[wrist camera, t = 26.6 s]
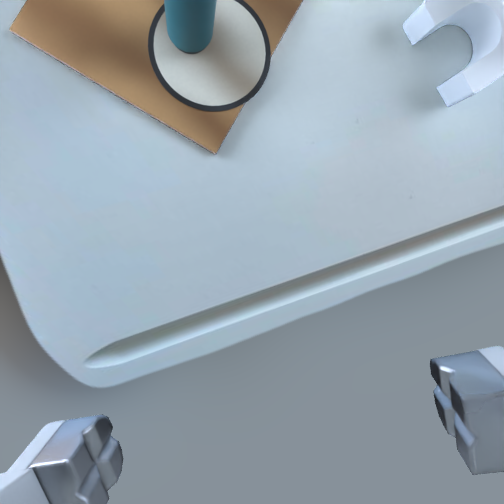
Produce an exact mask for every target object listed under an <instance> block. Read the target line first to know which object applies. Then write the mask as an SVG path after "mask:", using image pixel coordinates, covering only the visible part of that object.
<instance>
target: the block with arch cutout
mask: <svg viewBox="0 0 504 504" xmlns="http://www.w3.org/2000/svg"><path fill="white" fill-rule="evenodd" d="M450 24H451V25H457V26H459V27H461V28H462V29H463V30H465V31H466V32H467V34H468V35H469V37H470V39H471V42H472V46H473V55H472V58H471V61H470V62H469V64H468V66H466V67H465V68H464V69H463V70H462V71H460V72H459V73H457V74H456V75H454V76H453V77H451V78H450V79H448V80H447V81H445V82H444V83H442V84H441V85H439V86H438V87H436V88H437V90H438V92H439V93H440V95H441V97H442V99H443V100H444V102H445V104H446V106H448V107H451V106H452V105H454V104H456V103H458V102H460V101H462V100H464V99H466V98H468V97H470V96H472V95H474V94H476V93H478V92H479V91H481V90H482V89H484V88H485V87H487V86H488V85H489V84H491V83H492V82H494V81H495V80H497V79H498V78H500V77H501V76H503V75H504V0H425V1H424V2H423V3H422V4H421V5H420V6H419V7H418V8H417V10H416V11H415V12H414V13H413V14H412V15H411V16H410V17H409V18H408V19H407V20H406V21H405V22H404V23H403V29H404V31H405V33H406V35H407V37H408V39H409V40H410V42H411V44H412V46H413V45H414V44H416V43H417V42H419V41H420V40H422V39H423V38H425V37H426V36H428V35H429V34H431V33H433V32H434V31H436V30H437V29H439V28H440V27H442V26H445V25H450Z"/></svg>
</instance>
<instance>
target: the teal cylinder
mask: <svg viewBox="0 0 504 504" xmlns="http://www.w3.org/2000/svg"><path fill="white" fill-rule="evenodd" d="M216 2H217V0H164V5H165V15H166V25H167V32H168V36H169V38H170V40H171V41H172V43H173V44H174V45H175V46H176V47H177V48H178V49H179V50H180V51H182V52H184V53H187V54H197V53H199V52H201V51H202V50H204V49H205V47H207V46H208V44H209V43H210V41H211V39H212V35H213V28H214V19H215V11H216Z"/></svg>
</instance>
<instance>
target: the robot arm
mask: <svg viewBox="0 0 504 504" xmlns="http://www.w3.org/2000/svg"><path fill="white" fill-rule="evenodd" d="M430 368H431V375H432V377H433V378H434V380H435V381H436V383H437V386H436V388H435V389H434V398H435V404H436V407H437V410H438V414H439V417H440V419H441V421H442V423H443V426H444V427H445V429H446V431H447V433H448V434H450V435H452V436H453V437H455V438H456V444H457V450H458V452H459V453H460V455H461V457H462V458H463V460H464V461H465V463H466V465H467V467H468V468H469V470H470V472H471V473H472V475H477V474H487V473H496V472H504V348H503V347H501V346H494V347H488V348H484V349H479V350H475V351H472V352H466V353H461V354H455V355H450V356H444V357H439V358H433V359H431V361H430ZM112 428H113V426H112V424H111V422H110V420H109V418H108V417H107V416H105V415H103V414H102V415H95V416H89V417H82V418H75V419H69V420H63V421H57V422H52V423H49V424H47V425H45V426H44V427H43V428H42V430H41V431H40V432H39V433H38V435H37V436H36V437H35V438H34V440H33V441H32V442H31V443H30V444H29V445H28V447H27V448H26V449H25V450H24V452H23V453H22V454H21V455H20V457H19V458H18V459H17V460H16V461H15V463H14V464H13V465H12V466H11V467H10V469H9V470H8V471H7V472H6V473H1V474H0V504H107V502H108V500H109V496H108V492H107V491H108V490H109V489H110V488H111V487H112V486H113V485H114V484H115V483H116V482H117V481H118V478H119V476H120V474H121V471H122V463H123V455H122V449H121V446H120V444H119V441H117V440H116V439H115V438H113V437H112V436H111V435H110V434H111V432H112Z"/></svg>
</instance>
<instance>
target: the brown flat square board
mask: <svg viewBox="0 0 504 504" xmlns="http://www.w3.org/2000/svg"><path fill="white" fill-rule="evenodd" d="M302 2H303V0H217V2H216V11H215V19H214V28H213V35H212V39H211V41H210V43H209V44H208V46H207V47H205V49H204V50H202V51H201V52H199V53H197V54H187V53H184V52H182V51H180V50H179V49H178V48H177V47H176V46H175V45H174V44H173V43H172V41H171V40H170V38H169V36H168V32H167V25H166V15H165V5H164V0H27V1H26V3H25V4H24V6H23V7H22V9H21V11H20V12H19V14H18V16H17V17H16V19H15V21H14V22H13V24H12V25H11V27H10V29H9V30H10V31H11V32H12V33H13V34H15V35H17V36H18V37H20V38H22V39H23V40H25V41H27V42H28V43H30V44H32V45H33V46H35V47H37V48H38V49H40V50H42V51H43V52H45V53H47V54H48V55H50V56H52V57H53V58H55V59H57V60H58V61H60V62H62V63H63V64H65V65H67V66H68V67H70V68H72V69H73V70H75V71H77V72H78V73H80V74H82V75H83V76H85V77H87V78H88V79H90V80H92V81H93V82H95V83H97V84H98V85H100V86H102V87H103V88H105V89H107V90H108V91H110V92H112V93H113V94H115V95H117V96H118V97H120V98H122V99H123V100H125V101H127V102H128V103H130V104H132V105H133V106H135V107H137V108H138V109H140V110H142V111H143V112H145V113H147V114H148V115H150V116H152V117H153V118H155V119H157V120H158V121H160V122H162V123H163V124H165V125H167V126H168V127H170V128H172V129H173V130H175V131H177V132H178V133H180V134H182V135H183V136H185V137H187V138H188V139H190V140H192V141H193V142H195V143H197V144H198V145H200V146H202V147H203V148H205V149H207V150H208V151H210V152H212V153H213V154H215V155H216V153H217V151H218V150H219V148H220V146H221V144H222V143H223V141H224V139H225V137H226V136H227V134H228V132H229V130H230V129H231V127H232V125H233V123H234V121H235V120H236V118H237V116H238V114H239V113H240V111H241V109H242V107H243V106H244V104H245V102H247V101H248V100H250V99H251V98H252V97H253V96H254V95H255V94H256V93H257V92H258V91H259V89H260V88H261V86H262V85H263V83H264V81H265V79H266V77H267V74H268V71H269V66H270V59H271V56H272V55H273V53H274V51H275V49H276V47H277V46H278V44H279V42H280V40H281V39H282V37H283V35H284V33H285V32H286V30H287V28H288V26H289V25H290V23H291V21H292V19H293V17H294V16H295V14H296V12H297V10H298V9H299V7H300V5H301V3H302Z"/></svg>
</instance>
